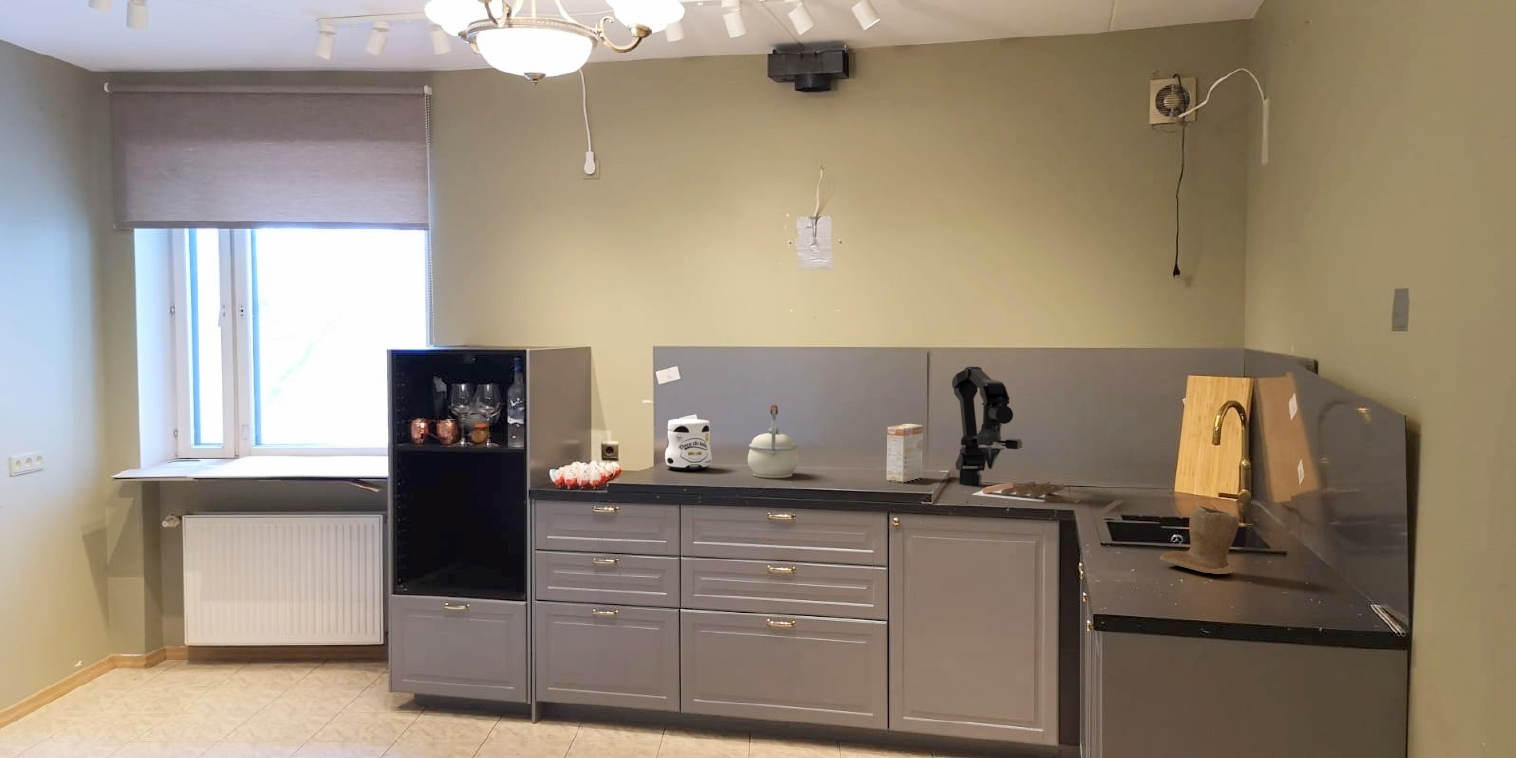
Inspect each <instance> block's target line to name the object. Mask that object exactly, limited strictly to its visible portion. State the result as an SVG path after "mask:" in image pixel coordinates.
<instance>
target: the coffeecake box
mask: <svg viewBox="0 0 1516 758" xmlns="http://www.w3.org/2000/svg"><path fill="white" fill-rule="evenodd" d="M886 427H887V432H886V433H887V437H886V438H887V439H886V441H887V442H886V443H887V444H886V479H887V480H896V481H905V480H910V479H914V478H918V477H922V478H923V455H924V454H923V449H924V447H923V446H924V445H923V443H924V424H923V425H922V424H913V423H903V424H898V425H897V424H896V425H892V426H886Z"/></svg>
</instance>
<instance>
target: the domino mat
mask: <svg viewBox="0 0 1516 758" xmlns="http://www.w3.org/2000/svg"><path fill="white" fill-rule="evenodd" d="M1001 491H1002V490H1000V491H995V492H990V493H986V494H983V490H982V489H981V490H980V491H977V492H975V493H972V494H971V495H973V496H982V497H990V498H1000V499H1002V498H1003V499H1010V500H1019V501H1020V500H1021V501H1029V502H1030V501H1031V502H1039V503H1044V502H1046V501H1047V500H1044V497H1045V495H1042V496H1039V497H1035V498H1032V499H1031V497H1030V494H1027V495H1024V496H1020V497H1017V495H1016V492H1015V493H1011V494H1008V495H1004V496H1002V493H1001ZM1056 494H1057V495H1059V494H1058V493H1056Z"/></svg>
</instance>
